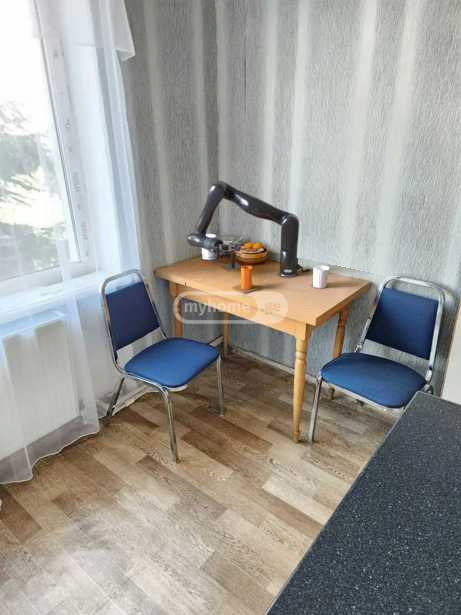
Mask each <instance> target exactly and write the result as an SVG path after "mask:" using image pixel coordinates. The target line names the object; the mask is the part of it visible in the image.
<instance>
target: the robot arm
mask: <svg viewBox="0 0 461 615" xmlns="http://www.w3.org/2000/svg"><path fill="white" fill-rule="evenodd" d="M222 200H226V201H228V202H231V203H233V204H235V205H236V206H237V207H238V208H240V210H241V211H243V212H245V213H246V214H249V215H250V216H252V217H255V218H258V219H262V220H267V221H269V222H270V221H271V222H272V223H276V225H279V226H280V249H279V250H280V251H279V252H280V253H279V271H278V275H279V276H281V277H284V278H293V277H295V276H297V275H298V271H300V272H302V273H305V272H309V271H311V268H308V269H305V270H304V268H303V266H301V264H299V257H298V250H299V248H298V247H299V233H300V218H299V217H298V215H296V214H294V213H291V212H288V211H285V210H283V209H280V208H278V207H275V206H274V205H273V204H270V203H268V202H266V201H265V200H263V199H260V198H258V197H256V196H254V195H251V194H249V193H247V192H245V191H243V190H239V189H237V188H236V187H234V186H232V185H230V184H228V183H227V182H225V181H223V180H216V181H214V182H213V183H212V184H211V185H210V186H209V190H208V193H207V197H206V200H205V203H204V206H203V208H202V210H201V212H200V214H199V217H198V218H197V221H196V223H195V224H194V229H195V231H196V232H198V233H195V232H189V233H188V234H187V235H186V243H187V244H188V245H189V246H192V247H196V248H201V249H202V248H203V249H206V250H208V251H211V252H212V253H214V254H217V255H225V256H228V254H229V253H228V252H232V251H234V252H238V253H240V252H241V248H240V246H238V244H236V243H233V242H229V243H225V242H224V241H223V240H222V239H219V238H217V237H216V238H217V239H216V238H212V237H207V236H206V234H207V231H208V229H209V227H210V225H211V223H212V220H213V217H214V214H215V212H216V210H217V208H218V206H219V204H220V203H221V201H222Z"/></svg>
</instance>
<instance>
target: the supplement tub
mask: <svg viewBox="0 0 461 615" xmlns="http://www.w3.org/2000/svg"><path fill="white" fill-rule="evenodd" d="M206 236H207V237H212V238H216V239H218V238H217V235H216V234H214V233H206ZM201 258H202V259H203V260H215V259H218V254H214V253H212V252H211V251H208V250H206V249H203V248H201Z"/></svg>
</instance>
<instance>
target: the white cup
mask: <svg viewBox="0 0 461 615" xmlns="http://www.w3.org/2000/svg"><path fill="white" fill-rule="evenodd" d="M312 269H313V270H312V286H313V287H314V288H316V289H324V288H326V287H327V285H328V278H329V273H330V267H329V266H326V265H314V266H313V268H312Z"/></svg>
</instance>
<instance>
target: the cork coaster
mask: <svg viewBox="0 0 461 615" xmlns="http://www.w3.org/2000/svg"><path fill="white" fill-rule="evenodd" d="M232 288H233V289H235V290H237V291H238V292H241V293H243V294H248V293H253V292H256V291H259V290H261V288H260V287H259V286H256V285H255V284H252V289H249V290H244V289H241V284H238V285H235V286H232Z"/></svg>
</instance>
